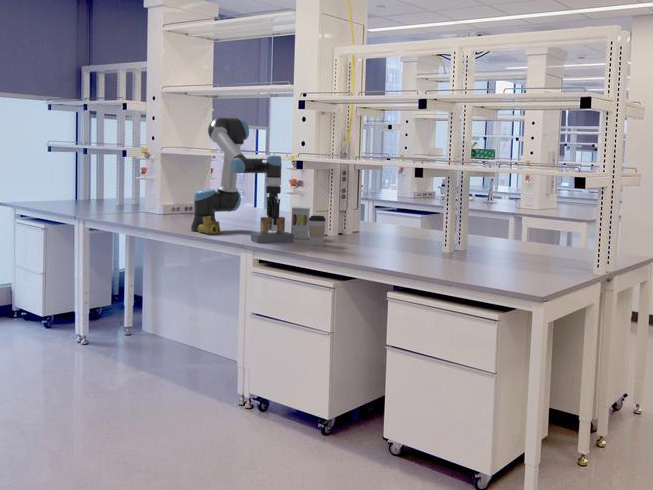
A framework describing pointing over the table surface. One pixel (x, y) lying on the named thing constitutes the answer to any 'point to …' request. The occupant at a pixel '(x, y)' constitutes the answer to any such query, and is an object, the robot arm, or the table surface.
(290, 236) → the grey tray
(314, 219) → the coffee cup
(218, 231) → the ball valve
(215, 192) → the robot arm
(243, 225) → the table surface
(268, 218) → the clip
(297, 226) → the supplement box
